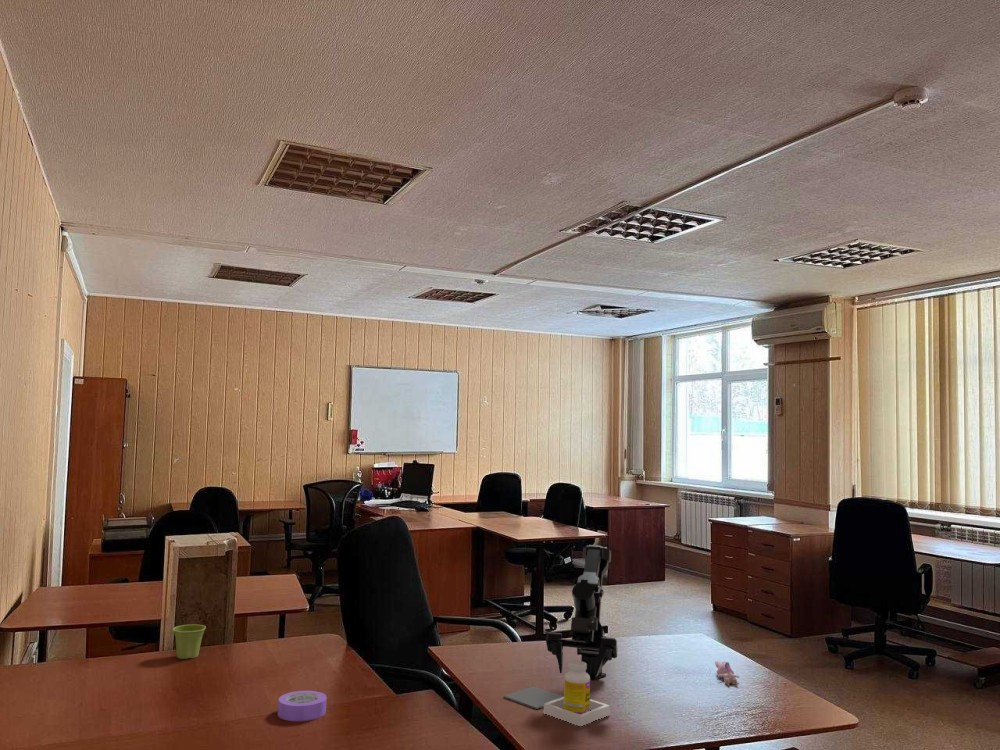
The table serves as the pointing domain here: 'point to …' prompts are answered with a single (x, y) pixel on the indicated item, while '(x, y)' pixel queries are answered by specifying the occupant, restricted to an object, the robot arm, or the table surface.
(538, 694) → the mat
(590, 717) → the holder
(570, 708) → the supplement bottle
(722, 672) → the pink plastic figurine
